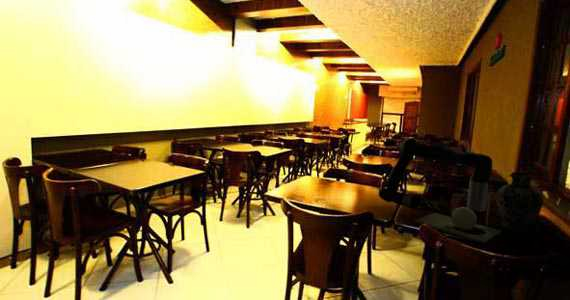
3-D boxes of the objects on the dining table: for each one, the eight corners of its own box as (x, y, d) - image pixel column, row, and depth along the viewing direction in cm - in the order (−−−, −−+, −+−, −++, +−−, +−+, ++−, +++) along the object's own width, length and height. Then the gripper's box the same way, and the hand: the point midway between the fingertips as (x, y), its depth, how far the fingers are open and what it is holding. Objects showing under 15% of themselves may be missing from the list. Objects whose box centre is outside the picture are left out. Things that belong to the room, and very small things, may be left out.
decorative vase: (542, 238, 147) (549, 179, 143) (494, 230, 156) (500, 174, 153) (535, 225, 165) (542, 172, 161) (493, 218, 174) (498, 168, 171)
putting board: (414, 222, 163) (418, 186, 160) (434, 214, 177) (438, 181, 174) (483, 243, 138) (489, 201, 136) (501, 232, 152) (506, 194, 150)
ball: (465, 203, 160) (480, 222, 156) (445, 214, 163) (459, 233, 158) (467, 202, 150) (483, 223, 146) (446, 214, 153) (461, 234, 149)
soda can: (466, 218, 172) (468, 196, 171) (452, 216, 174) (454, 195, 172) (461, 214, 179) (464, 193, 178) (448, 212, 180) (450, 192, 179)
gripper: (407, 197, 169) (437, 204, 157) (420, 193, 178) (450, 200, 166) (405, 210, 170) (435, 219, 158) (418, 206, 179) (448, 214, 167)
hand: (443, 209), depth 162 cm, fingers open, 8 cm apart
